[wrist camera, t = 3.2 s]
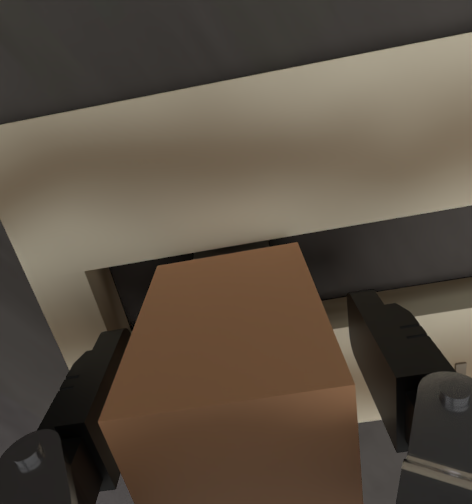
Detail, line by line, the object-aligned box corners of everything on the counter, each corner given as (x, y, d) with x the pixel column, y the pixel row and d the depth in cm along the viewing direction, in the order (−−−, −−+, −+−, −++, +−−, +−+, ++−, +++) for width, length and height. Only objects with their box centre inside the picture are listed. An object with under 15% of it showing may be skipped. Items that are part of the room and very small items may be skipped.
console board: (-3, 124, 13) (-42, 133, 11) (969, -67, 11) (1120, -95, 9) (120, 420, 19) (108, 459, 17) (779, 325, 17) (849, 356, 15)
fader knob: (169, 233, 15) (97, 421, 7) (285, 213, 14) (355, 384, 6) (195, 329, 16) (163, 566, 8) (299, 312, 16) (365, 541, 8)
